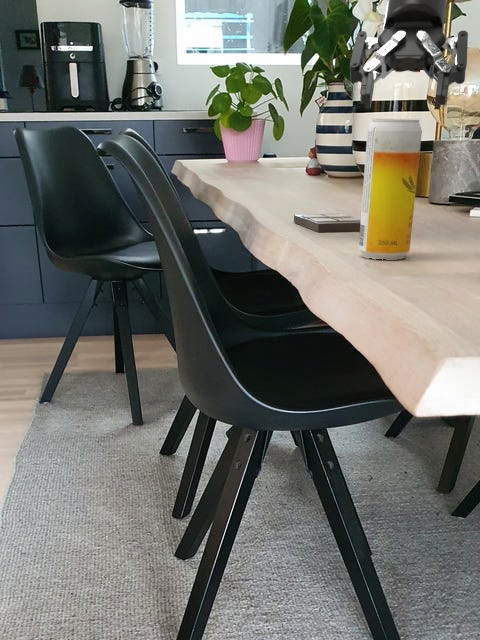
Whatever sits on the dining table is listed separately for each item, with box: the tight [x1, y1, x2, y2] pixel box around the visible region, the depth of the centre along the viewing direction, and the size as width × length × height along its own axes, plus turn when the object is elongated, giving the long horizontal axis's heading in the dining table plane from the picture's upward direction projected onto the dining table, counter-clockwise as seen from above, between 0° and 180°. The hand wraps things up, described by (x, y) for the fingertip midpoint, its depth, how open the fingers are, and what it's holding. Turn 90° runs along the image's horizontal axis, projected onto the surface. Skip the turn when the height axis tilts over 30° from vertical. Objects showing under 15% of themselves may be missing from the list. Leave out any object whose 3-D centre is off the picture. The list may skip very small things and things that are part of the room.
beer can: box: [358, 118, 423, 261], centre depth 93 cm, size 6×6×15 cm
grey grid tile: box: [293, 213, 361, 233], centre depth 120 cm, size 11×8×1 cm
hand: (402, 103), depth 98 cm, fingers open, 8 cm apart
